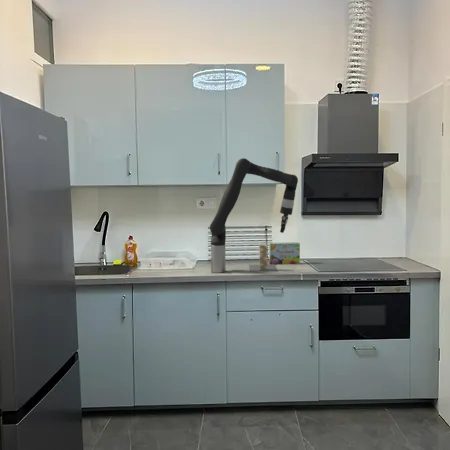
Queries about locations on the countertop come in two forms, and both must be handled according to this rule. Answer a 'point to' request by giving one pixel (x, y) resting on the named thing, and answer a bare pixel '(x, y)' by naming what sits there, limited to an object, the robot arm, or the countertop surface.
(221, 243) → the robot arm
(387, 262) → the countertop surface
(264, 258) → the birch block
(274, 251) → the snack box
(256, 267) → the charcoal mat
